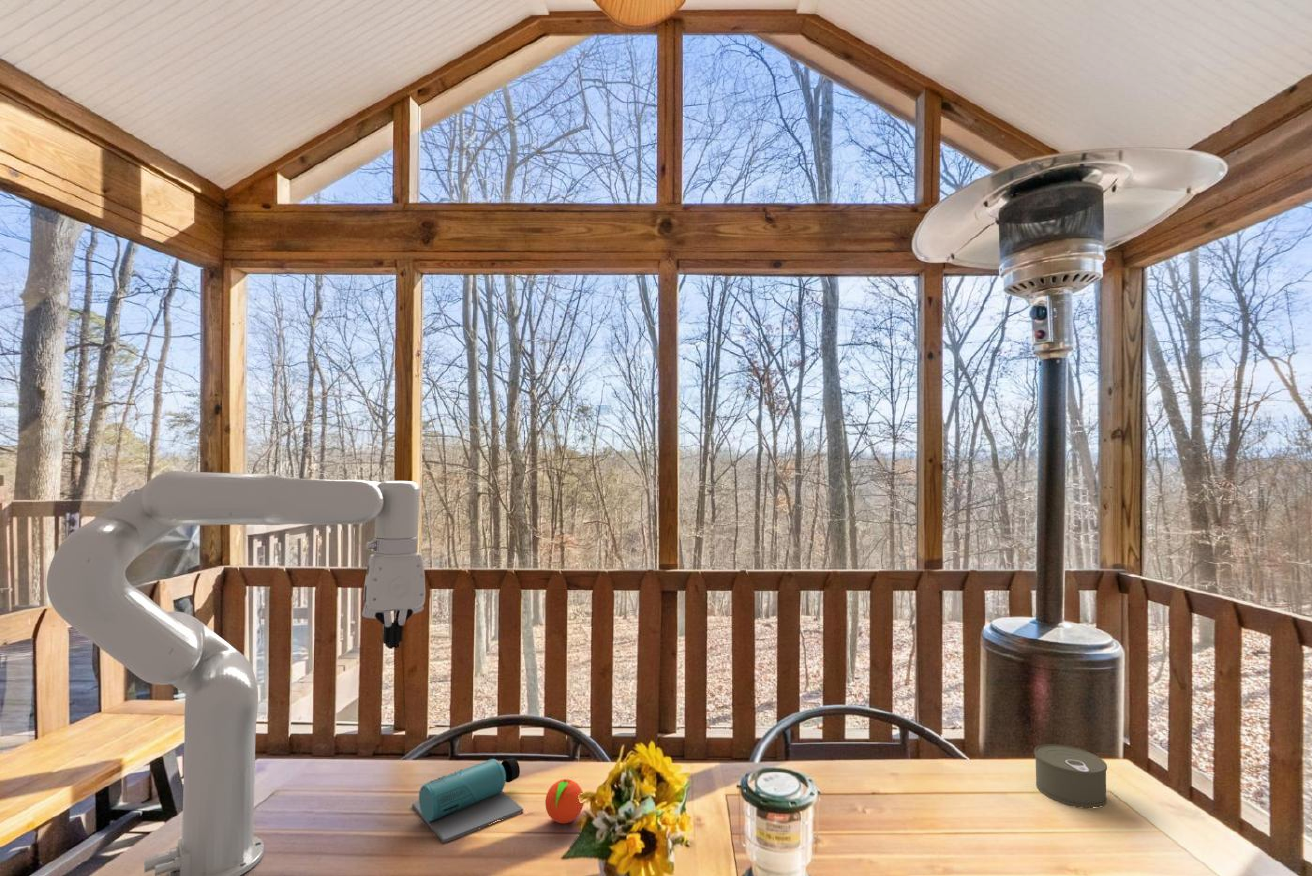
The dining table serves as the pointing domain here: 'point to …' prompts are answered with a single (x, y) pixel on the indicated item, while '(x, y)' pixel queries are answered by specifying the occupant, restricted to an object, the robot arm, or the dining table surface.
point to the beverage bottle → (465, 787)
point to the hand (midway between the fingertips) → (392, 646)
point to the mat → (472, 816)
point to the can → (1070, 775)
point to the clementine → (564, 801)
